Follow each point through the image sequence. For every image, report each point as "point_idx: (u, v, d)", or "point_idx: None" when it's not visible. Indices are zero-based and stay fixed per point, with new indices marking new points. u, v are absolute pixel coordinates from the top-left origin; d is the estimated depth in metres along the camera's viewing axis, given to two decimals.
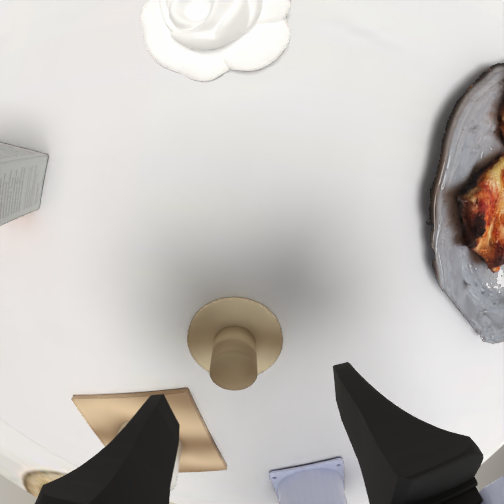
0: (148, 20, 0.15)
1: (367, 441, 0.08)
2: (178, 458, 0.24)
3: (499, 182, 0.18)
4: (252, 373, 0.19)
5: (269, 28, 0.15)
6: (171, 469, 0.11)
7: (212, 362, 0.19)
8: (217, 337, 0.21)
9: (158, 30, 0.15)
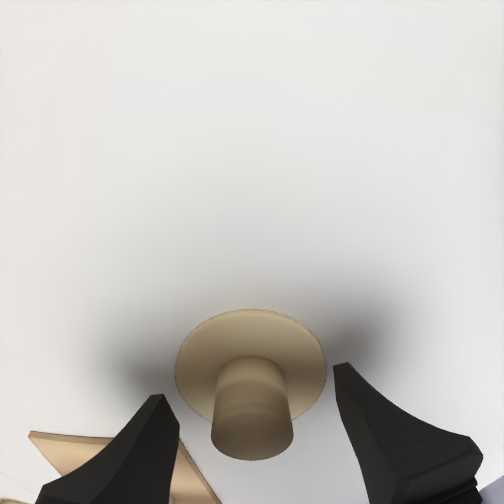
0: None
1: (367, 441, 0.08)
2: None
3: None
4: (284, 438, 0.10)
5: None
6: (171, 469, 0.11)
7: (216, 423, 0.10)
8: (223, 375, 0.13)
9: None
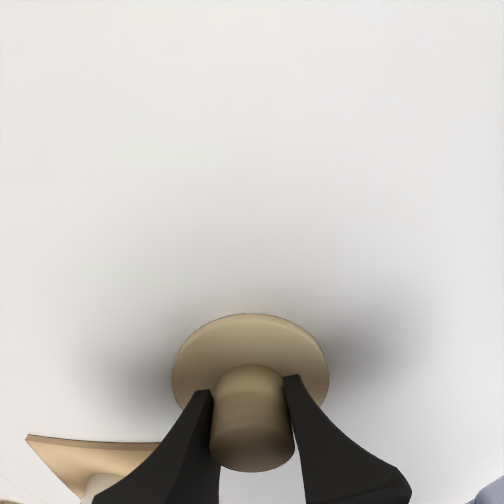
0: None
1: None
2: None
3: None
4: (285, 451, 0.10)
5: None
6: (219, 467, 0.11)
7: (214, 435, 0.10)
8: (222, 384, 0.12)
9: None
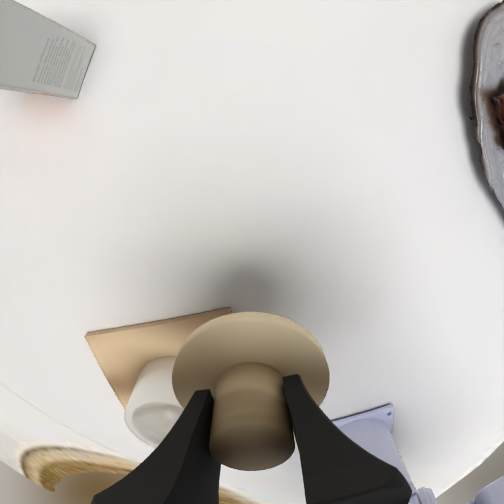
0: None
1: None
2: None
3: None
4: (285, 449, 0.10)
5: None
6: (218, 467, 0.11)
7: (214, 433, 0.10)
8: (222, 382, 0.12)
9: None
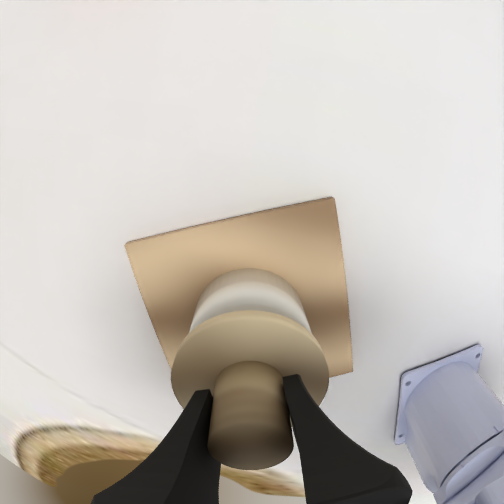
0: None
1: None
2: None
3: None
4: (283, 449, 0.10)
5: None
6: (218, 467, 0.11)
7: (213, 431, 0.10)
8: (222, 380, 0.12)
9: None
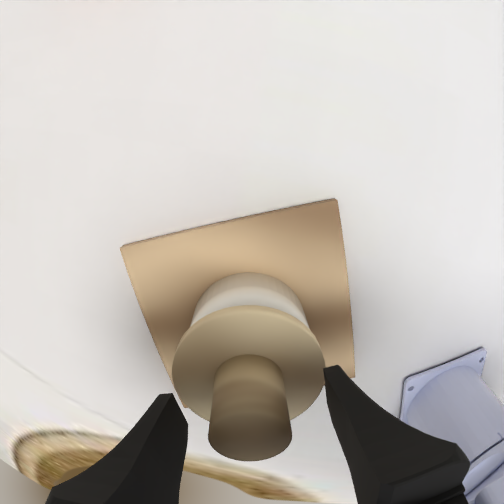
0: None
1: (354, 445, 0.08)
2: None
3: None
4: (282, 440, 0.10)
5: None
6: (180, 469, 0.11)
7: (214, 422, 0.10)
8: (222, 373, 0.12)
9: None
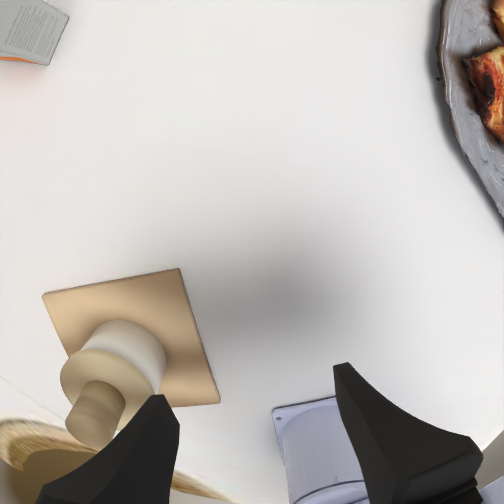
0: None
1: (367, 441, 0.08)
2: (160, 372, 0.21)
3: (500, 64, 0.16)
4: (105, 438, 0.15)
5: None
6: (171, 469, 0.11)
7: (66, 418, 0.15)
8: (82, 390, 0.17)
9: None
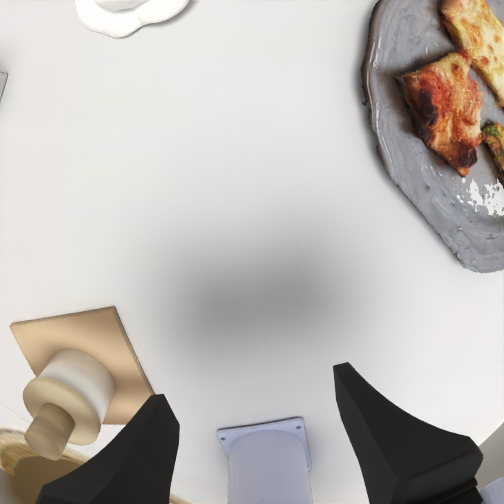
0: None
1: (367, 441, 0.08)
2: (105, 395, 0.22)
3: (449, 74, 0.16)
4: (54, 451, 0.16)
5: None
6: (171, 469, 0.11)
7: (25, 434, 0.16)
8: (39, 411, 0.18)
9: None
